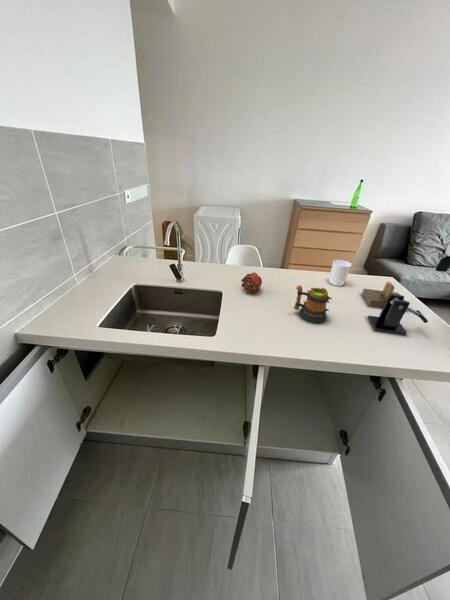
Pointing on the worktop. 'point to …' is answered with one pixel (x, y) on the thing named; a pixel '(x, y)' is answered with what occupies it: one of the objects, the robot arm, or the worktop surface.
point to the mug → (313, 304)
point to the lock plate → (375, 298)
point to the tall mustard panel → (387, 289)
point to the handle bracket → (390, 316)
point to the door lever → (413, 311)
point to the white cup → (339, 272)
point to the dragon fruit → (252, 282)
